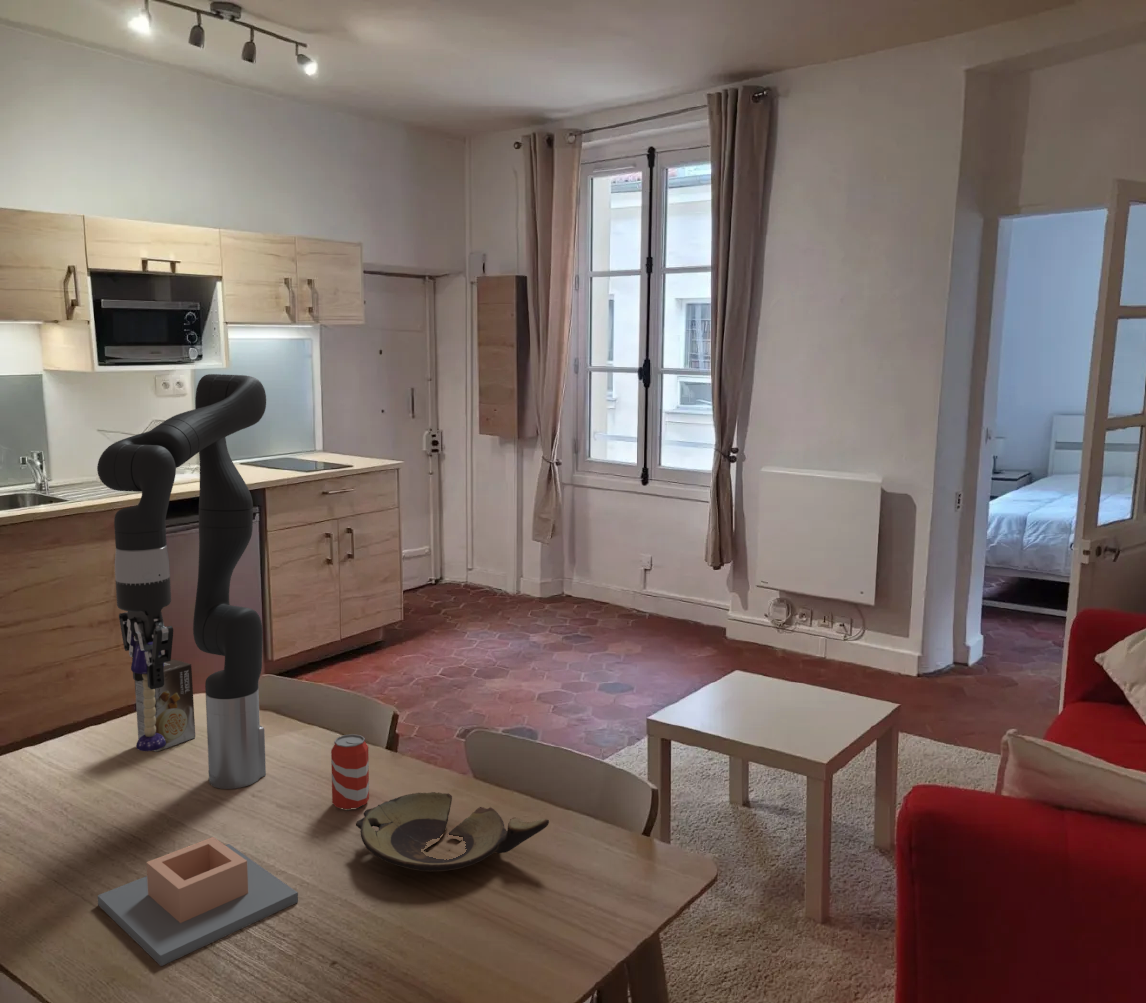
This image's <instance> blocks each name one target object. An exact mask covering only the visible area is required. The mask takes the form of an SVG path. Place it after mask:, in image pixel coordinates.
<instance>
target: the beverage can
mask: <svg viewBox="0 0 1146 1003" xmlns="http://www.w3.org/2000/svg"><path fill="white" fill-rule="evenodd" d="M365 740H366V738H365V737H364V736H362V735H360V734H354V733H351V734H350V733H349V734H344V735H341V736H339V737H336V739H334V744H333V746H332V748H331V752H330V754H331V755H330V756H331V802H332V804H333V805H334V806H335V808H338V809H340V808H343V809H351V808H358V807H360V806H362V805H363V806H365V805H366V804H368V802H369V800H370V781H369V780H370V778H369V777H370V776H369V775H370V771H369V768H370V765H369V762H370V761H369V760H370V758H369V745H368V744H367V743H366V741H365ZM363 806H362V807H363ZM360 808H361V807H360ZM343 809H342V810H343ZM358 809H359V808H358Z"/></svg>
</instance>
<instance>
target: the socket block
mask: <svg viewBox="0 0 1146 1003" xmlns="http://www.w3.org/2000/svg"><path fill="white" fill-rule="evenodd" d="M297 903H299V892H298V891H296V890H295V889H294V888H292V887H291V886H290V885H288V884H287V883H286V882H284V881H282V880H281V879H280V878H278V877H276V876H275V875H274V874H272V873H271V872H269V870H267V869H265V868H264V867H262V866H261V865H260V864H258V863H257V862H255V861H254V860H252V859H251V858H250V857H248V856H247V855H245V854H244V853H243V852H241V851H240V850H238V849H237V848H236V847H234V846H233V845H231V844H230V843H228V844H224V843H222V841H220V840H218V839H217V838H216V837H214V836H212V837H209V838H207V839H204V840H201V841H199V842H196V843H194V844H191V845H189V846H185V847H183V848H180V849H177V850H175V851H172V852H170V853H166V854H165V855H162V856H159V857H156V858H154V859H153V858H152V859H151V860H148V861H146V876H144V877H141V878H139V879H135V880H133V881H131V882H128V883H126V884H123V885H121V886H118V887H115V888H113V889H111V890H108V891H105V892H103V893H100V894H97V905H98V907H100V909H102V910H103V912H104V913H106V915H108V916H109V917H110V918H111V920H113V921H114V922H115V924H117V926H119V927H120V928H121V929H122V930H123V931H124V933H126V934H127V935H128V936H129V937H130V938H131V939H132V940H134V941H135V943H136V944H138V945H139V947H140V948H142V950H143V951H144V952H145V953H146V954H148V955H149V956H150V957H151V958H152V959H153V960H154V961H155V963H157V964H158V965H159V966H160V967H163V966H165V965H167V964H169V963H171V962H174V961H175V960H177V959H180V958H182V957H184V956H186V955H188V954H190V953H193V952H195V951H197V950H199V949H201V948H204V947H206V946H207V945H209V944H211V943H213V942H216V941H218V940H221V939H222V938H225V937H226V936H228V935H231V934H233V933H236V932H237V931H239V930H240V931H241V929H244V928H246V927H248V926H250V925H252V924H255V923H257V922H259V921H261V920H264V919H265V918H267V917H270V916H271V915H274V914H276V913H278V912H280V911H282V910H285V909H286V908H289V907H291V906H293V905H295V904H297Z"/></svg>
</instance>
